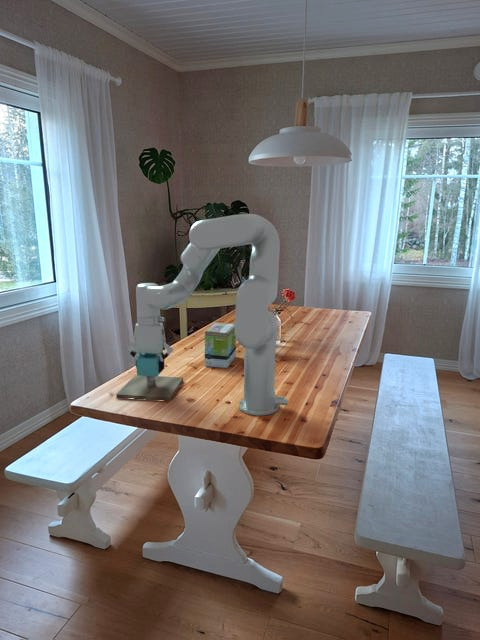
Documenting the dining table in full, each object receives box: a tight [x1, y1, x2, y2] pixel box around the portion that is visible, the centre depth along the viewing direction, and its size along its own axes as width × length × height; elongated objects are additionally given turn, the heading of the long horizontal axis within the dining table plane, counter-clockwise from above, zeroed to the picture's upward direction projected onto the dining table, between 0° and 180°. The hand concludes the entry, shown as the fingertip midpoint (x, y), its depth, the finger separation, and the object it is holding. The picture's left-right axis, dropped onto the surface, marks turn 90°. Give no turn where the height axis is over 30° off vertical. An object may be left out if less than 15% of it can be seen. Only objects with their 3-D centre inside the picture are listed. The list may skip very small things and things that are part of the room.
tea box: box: [204, 322, 237, 369], centre depth 183 cm, size 15×10×15 cm, turn 168°
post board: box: [115, 374, 184, 402], centre depth 155 cm, size 18×18×6 cm
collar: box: [135, 353, 161, 377], centre depth 153 cm, size 7×7×6 cm
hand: (150, 370), depth 154 cm, fingers closed on collar, 7 cm apart
